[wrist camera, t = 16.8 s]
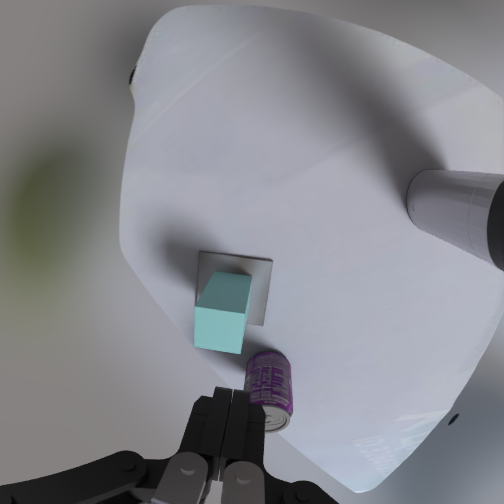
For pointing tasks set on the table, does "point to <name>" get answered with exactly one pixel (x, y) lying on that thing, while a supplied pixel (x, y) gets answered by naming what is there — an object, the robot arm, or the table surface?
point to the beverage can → (271, 388)
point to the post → (241, 266)
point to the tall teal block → (222, 312)
